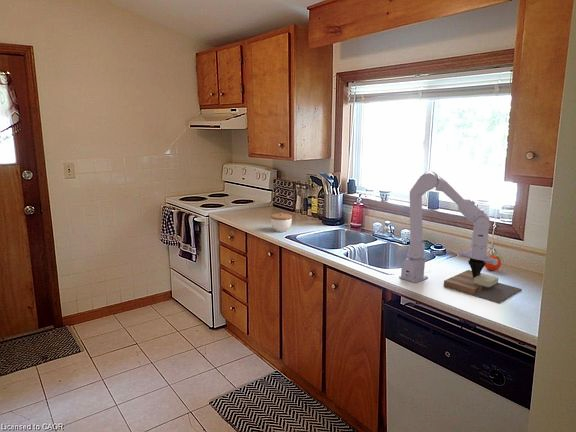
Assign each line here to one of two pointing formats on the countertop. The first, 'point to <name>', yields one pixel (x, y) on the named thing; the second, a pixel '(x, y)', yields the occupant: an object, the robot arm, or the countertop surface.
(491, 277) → the tile
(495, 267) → the clementine
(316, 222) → the countertop surface
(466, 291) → the board
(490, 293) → the mat
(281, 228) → the lidded bowl
